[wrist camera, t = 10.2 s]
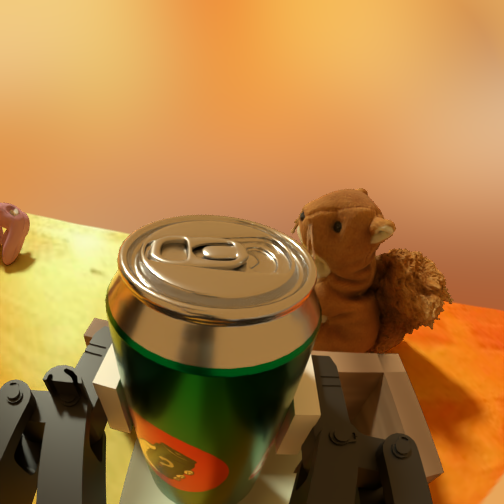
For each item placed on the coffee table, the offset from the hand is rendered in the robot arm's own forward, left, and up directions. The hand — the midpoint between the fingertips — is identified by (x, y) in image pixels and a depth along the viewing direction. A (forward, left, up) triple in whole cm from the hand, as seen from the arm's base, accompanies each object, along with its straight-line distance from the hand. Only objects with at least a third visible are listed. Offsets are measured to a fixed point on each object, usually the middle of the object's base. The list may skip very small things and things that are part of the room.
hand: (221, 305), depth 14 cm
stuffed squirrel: (+10, +8, -9) cm, 16 cm away
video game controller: (-30, +14, -9) cm, 34 cm away
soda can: (0, -5, -7) cm, 9 cm away
